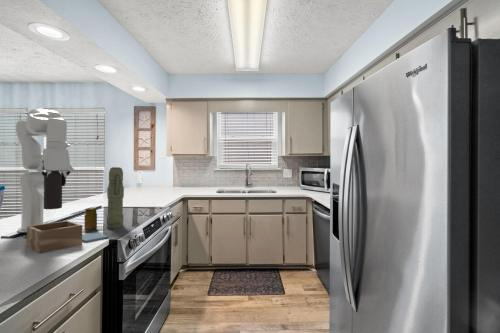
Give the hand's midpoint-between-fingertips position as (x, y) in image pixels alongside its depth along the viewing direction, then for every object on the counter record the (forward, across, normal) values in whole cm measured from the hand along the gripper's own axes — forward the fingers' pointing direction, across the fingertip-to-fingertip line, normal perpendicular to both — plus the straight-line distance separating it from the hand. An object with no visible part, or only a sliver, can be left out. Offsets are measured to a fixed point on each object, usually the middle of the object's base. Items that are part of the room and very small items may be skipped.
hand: (55, 185), depth 126 cm
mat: (+27, -16, +1) cm, 31 cm away
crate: (+27, 0, +1) cm, 27 cm away
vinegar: (+10, +1, 0) cm, 10 cm away
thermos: (+28, -36, -13) cm, 47 cm away
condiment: (+28, -24, -15) cm, 40 cm away
